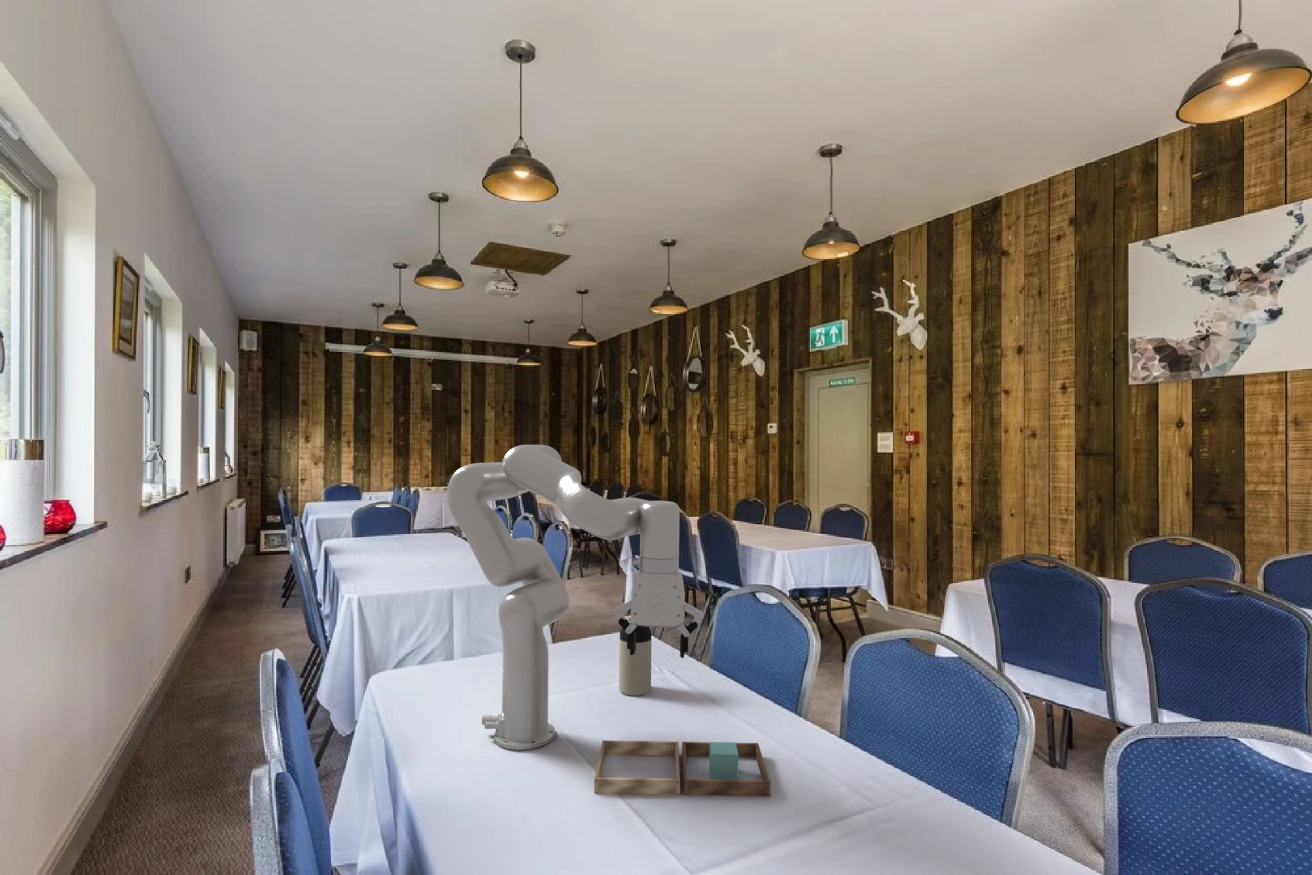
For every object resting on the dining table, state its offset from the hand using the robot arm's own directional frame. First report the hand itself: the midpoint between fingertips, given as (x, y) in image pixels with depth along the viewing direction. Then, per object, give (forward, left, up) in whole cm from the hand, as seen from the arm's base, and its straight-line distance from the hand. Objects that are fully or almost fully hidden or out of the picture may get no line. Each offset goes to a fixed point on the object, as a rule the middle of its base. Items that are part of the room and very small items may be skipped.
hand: (657, 654), depth 127 cm
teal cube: (+13, -2, -22) cm, 25 cm away
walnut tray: (+13, -2, -22) cm, 25 cm away
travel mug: (-6, +39, -22) cm, 45 cm away
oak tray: (-3, -2, -22) cm, 22 cm away
